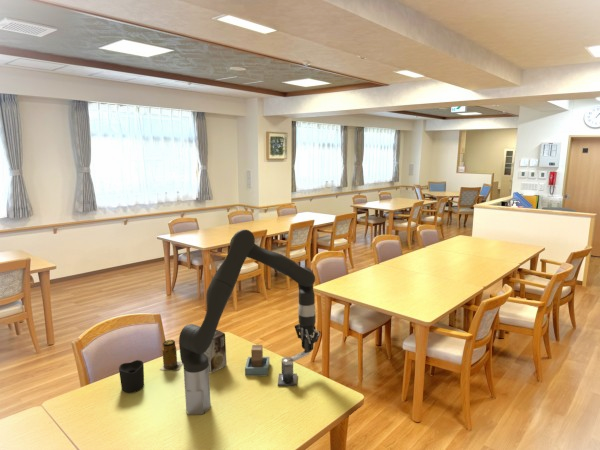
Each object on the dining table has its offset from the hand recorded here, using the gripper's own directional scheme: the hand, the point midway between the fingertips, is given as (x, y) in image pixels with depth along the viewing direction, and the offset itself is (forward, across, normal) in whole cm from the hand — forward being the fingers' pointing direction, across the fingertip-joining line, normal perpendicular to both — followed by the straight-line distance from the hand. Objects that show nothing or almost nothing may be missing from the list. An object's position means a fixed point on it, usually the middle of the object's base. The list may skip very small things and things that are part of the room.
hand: (307, 349), depth 175 cm
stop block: (+9, -18, -14) cm, 25 cm away
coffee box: (+10, -34, -26) cm, 44 cm away
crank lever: (+2, -1, -6) cm, 7 cm away
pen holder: (+10, -47, -58) cm, 76 cm away
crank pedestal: (+10, -7, -6) cm, 14 cm away
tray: (+10, -18, -14) cm, 25 cm away
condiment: (+10, -50, -38) cm, 64 cm away
